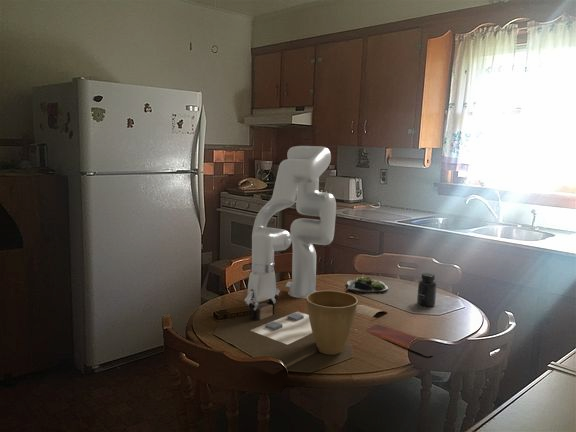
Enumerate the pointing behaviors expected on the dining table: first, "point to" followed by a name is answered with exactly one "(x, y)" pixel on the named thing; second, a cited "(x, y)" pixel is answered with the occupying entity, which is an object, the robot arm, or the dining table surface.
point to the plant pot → (331, 319)
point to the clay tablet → (367, 310)
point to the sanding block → (264, 310)
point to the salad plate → (367, 285)
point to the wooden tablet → (391, 335)
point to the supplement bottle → (427, 290)
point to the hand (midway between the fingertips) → (262, 316)
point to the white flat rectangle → (287, 329)
